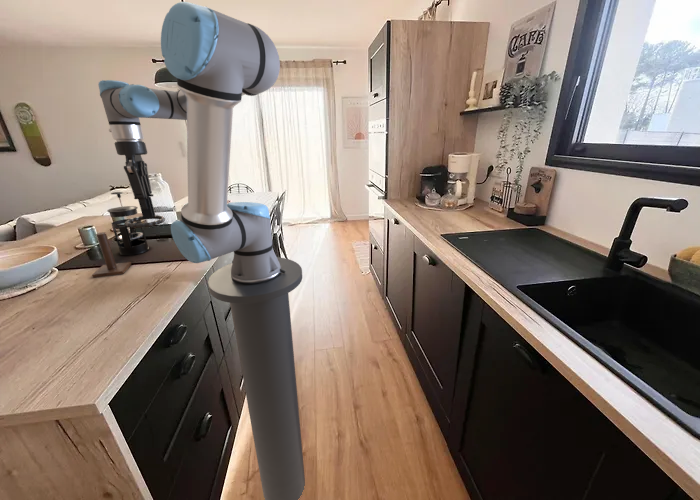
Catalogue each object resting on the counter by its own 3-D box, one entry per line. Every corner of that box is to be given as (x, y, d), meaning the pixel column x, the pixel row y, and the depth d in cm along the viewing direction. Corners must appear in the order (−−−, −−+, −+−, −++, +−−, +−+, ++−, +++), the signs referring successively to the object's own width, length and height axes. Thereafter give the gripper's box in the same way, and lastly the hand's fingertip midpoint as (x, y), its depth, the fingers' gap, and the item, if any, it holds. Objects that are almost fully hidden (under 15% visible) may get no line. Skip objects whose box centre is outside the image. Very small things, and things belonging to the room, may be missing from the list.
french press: (124, 248, 115) (107, 190, 106) (152, 245, 118) (137, 189, 110) (115, 258, 104) (94, 195, 96) (145, 255, 108) (128, 194, 100)
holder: (131, 264, 100) (120, 228, 95) (123, 273, 93) (110, 235, 88) (103, 267, 97) (91, 231, 93) (92, 277, 90) (78, 238, 86)
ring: (168, 217, 96) (167, 213, 96) (161, 226, 87) (160, 222, 87) (131, 219, 93) (130, 216, 92) (120, 229, 84) (119, 225, 83)
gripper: (123, 141, 91) (143, 213, 99) (103, 140, 78) (128, 224, 86) (150, 140, 93) (167, 212, 101) (136, 140, 80) (156, 222, 88)
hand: (149, 217), depth 94 cm, fingers closed on ring, 1 cm apart
